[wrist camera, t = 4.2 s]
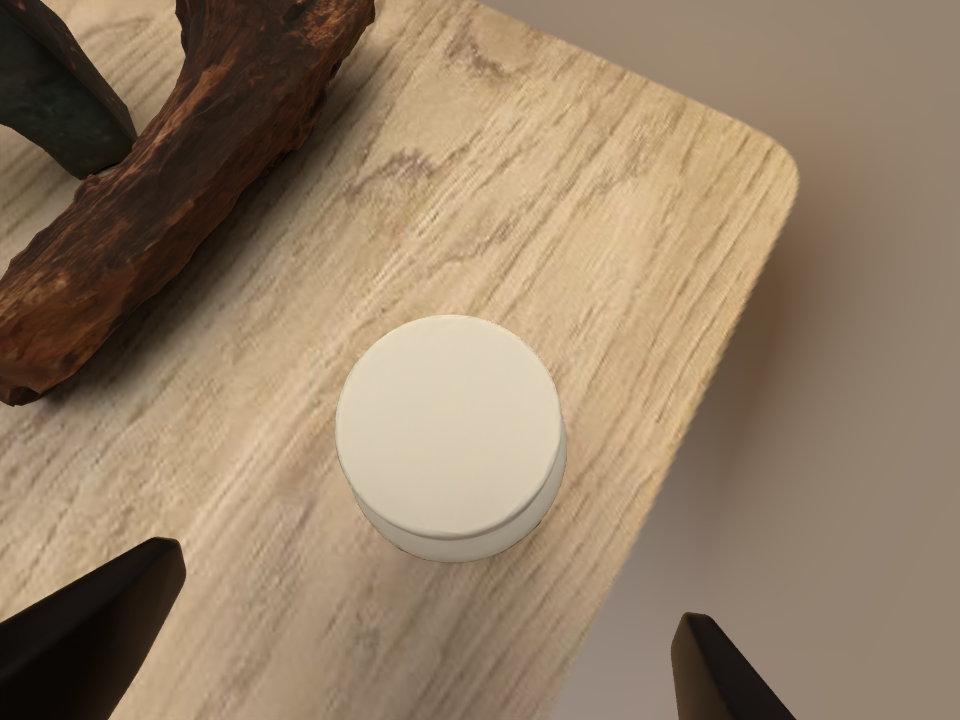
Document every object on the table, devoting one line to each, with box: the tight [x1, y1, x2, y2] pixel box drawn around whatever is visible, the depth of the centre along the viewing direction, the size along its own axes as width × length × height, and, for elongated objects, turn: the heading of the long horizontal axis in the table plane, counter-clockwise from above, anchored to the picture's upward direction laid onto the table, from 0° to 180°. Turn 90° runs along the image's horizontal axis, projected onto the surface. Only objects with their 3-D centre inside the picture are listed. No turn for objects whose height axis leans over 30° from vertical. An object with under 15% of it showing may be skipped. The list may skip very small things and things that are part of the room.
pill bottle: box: [335, 314, 567, 563], centre depth 15 cm, size 6×6×10 cm
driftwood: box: [0, 0, 375, 407], centre depth 20 cm, size 23×8×8 cm, turn 158°
